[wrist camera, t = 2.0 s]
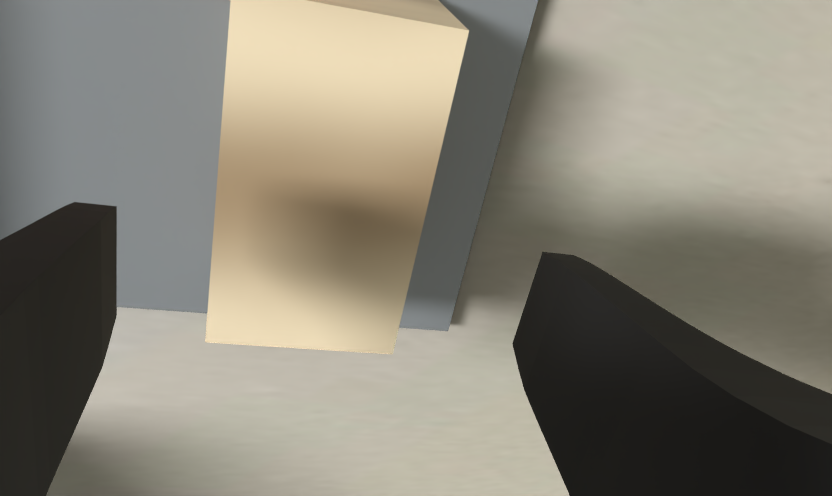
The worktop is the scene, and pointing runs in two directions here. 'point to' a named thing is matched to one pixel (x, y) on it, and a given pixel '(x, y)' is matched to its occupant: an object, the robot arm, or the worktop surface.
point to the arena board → (206, 136)
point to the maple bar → (327, 167)
